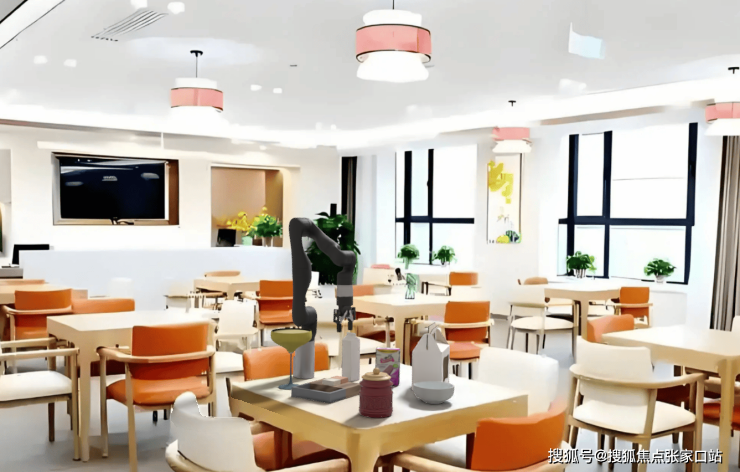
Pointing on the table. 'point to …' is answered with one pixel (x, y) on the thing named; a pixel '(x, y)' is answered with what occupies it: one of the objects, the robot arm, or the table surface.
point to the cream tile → (331, 381)
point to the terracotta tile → (343, 379)
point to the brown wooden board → (336, 387)
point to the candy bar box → (389, 362)
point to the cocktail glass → (290, 344)
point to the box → (317, 394)
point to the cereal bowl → (433, 391)
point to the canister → (376, 395)
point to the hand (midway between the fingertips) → (344, 331)
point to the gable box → (431, 357)
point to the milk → (351, 357)
